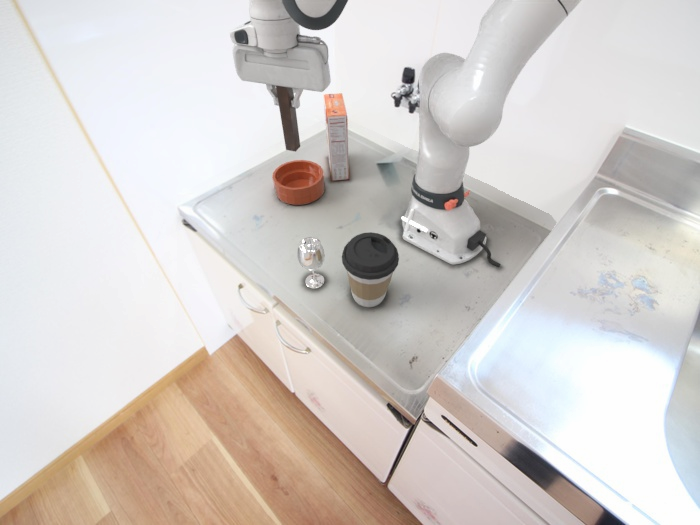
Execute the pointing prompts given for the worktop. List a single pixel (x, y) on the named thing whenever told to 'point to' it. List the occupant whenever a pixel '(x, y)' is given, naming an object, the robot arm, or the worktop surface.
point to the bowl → (299, 182)
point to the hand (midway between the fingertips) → (287, 105)
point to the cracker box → (337, 136)
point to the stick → (288, 118)
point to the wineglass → (311, 260)
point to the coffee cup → (369, 267)
